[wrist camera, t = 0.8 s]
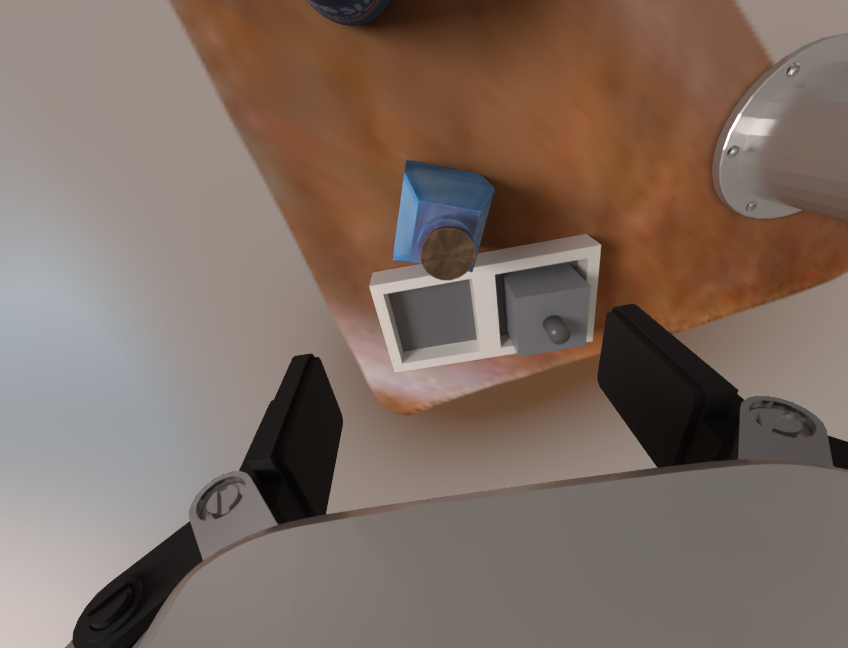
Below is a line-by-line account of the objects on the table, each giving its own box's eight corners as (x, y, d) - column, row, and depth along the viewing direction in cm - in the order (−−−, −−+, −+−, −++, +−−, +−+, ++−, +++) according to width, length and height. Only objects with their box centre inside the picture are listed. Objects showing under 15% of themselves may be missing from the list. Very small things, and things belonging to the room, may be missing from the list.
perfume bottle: (406, 160, 28) (401, 189, 18) (480, 174, 29) (516, 210, 19) (396, 234, 31) (387, 295, 21) (462, 245, 32) (485, 309, 22)
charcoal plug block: (567, 262, 32) (602, 297, 26) (565, 317, 35) (595, 359, 29) (502, 273, 33) (521, 310, 27) (505, 326, 36) (524, 370, 30)
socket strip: (586, 233, 32) (601, 244, 29) (580, 325, 37) (592, 341, 34) (372, 272, 33) (369, 286, 31) (396, 355, 38) (394, 372, 36)
